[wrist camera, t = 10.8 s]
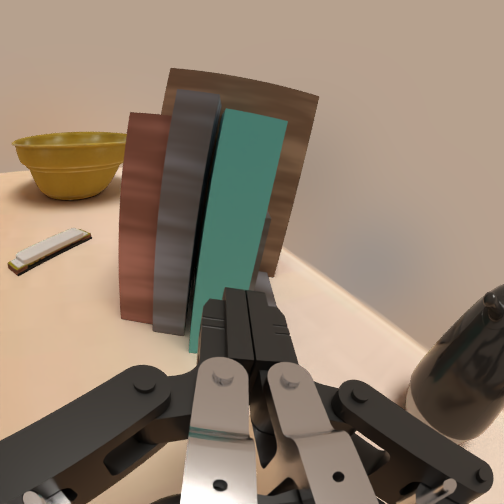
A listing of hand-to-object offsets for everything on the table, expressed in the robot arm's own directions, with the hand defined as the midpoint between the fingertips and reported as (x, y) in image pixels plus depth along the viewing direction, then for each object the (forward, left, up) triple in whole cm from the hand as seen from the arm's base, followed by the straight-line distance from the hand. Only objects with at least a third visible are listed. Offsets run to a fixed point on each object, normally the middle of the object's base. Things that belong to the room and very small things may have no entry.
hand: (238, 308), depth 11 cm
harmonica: (-32, +9, -13) cm, 35 cm away
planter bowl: (-56, +28, -13) cm, 64 cm away
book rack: (-10, +17, -12) cm, 23 cm away
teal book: (-9, +15, -13) cm, 22 cm away
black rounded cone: (+18, +11, -13) cm, 24 cm away
